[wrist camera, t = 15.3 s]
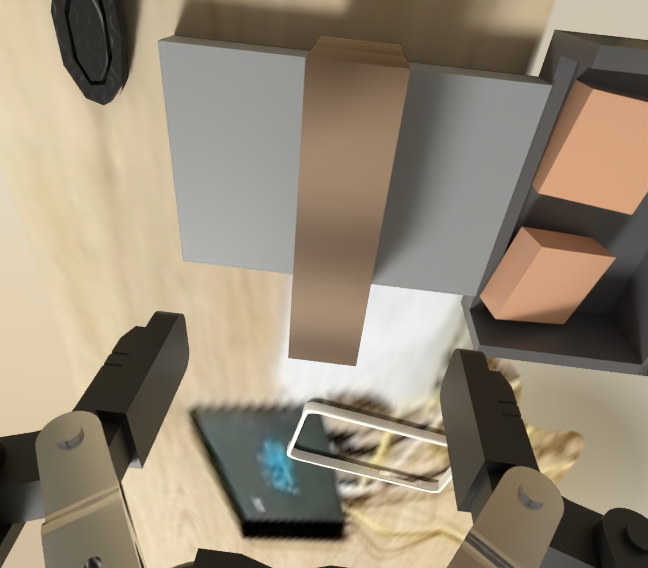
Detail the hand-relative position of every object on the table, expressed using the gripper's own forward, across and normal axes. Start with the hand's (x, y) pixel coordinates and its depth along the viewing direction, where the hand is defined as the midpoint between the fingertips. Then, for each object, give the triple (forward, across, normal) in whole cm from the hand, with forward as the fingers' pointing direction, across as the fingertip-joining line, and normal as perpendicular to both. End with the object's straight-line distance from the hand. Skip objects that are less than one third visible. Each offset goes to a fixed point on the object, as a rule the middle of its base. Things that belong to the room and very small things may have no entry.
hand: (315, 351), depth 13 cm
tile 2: (+13, -12, +4) cm, 18 cm away
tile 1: (+14, -13, -3) cm, 19 cm away
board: (+15, 0, 0) cm, 15 cm away
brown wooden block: (+13, 0, 0) cm, 13 cm away
